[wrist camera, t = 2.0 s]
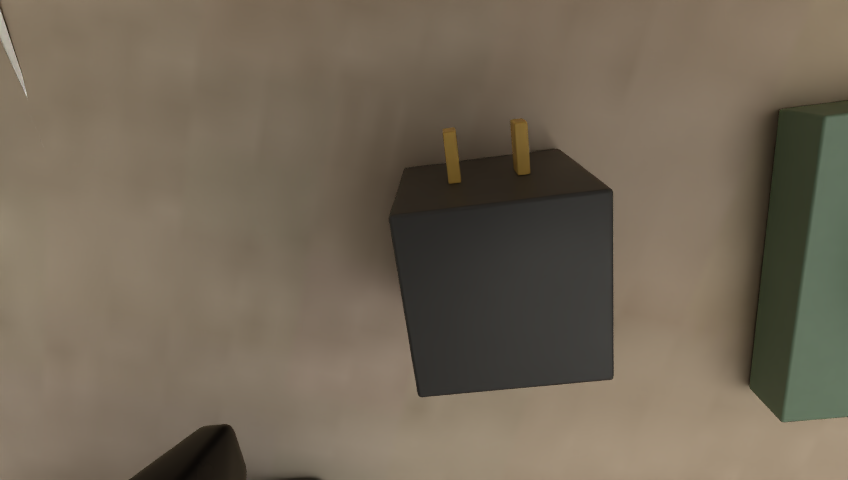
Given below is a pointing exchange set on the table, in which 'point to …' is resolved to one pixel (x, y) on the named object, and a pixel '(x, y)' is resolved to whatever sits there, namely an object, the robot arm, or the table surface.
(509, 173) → the charger head
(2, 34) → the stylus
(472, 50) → the table surface
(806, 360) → the switch box
